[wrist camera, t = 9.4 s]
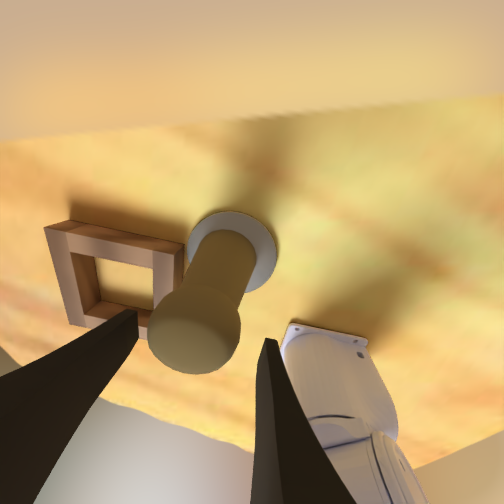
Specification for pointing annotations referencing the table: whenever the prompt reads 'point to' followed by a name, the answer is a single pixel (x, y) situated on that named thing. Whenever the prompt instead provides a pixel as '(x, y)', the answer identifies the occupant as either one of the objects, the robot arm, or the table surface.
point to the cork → (204, 306)
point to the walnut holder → (116, 249)
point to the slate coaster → (247, 228)
